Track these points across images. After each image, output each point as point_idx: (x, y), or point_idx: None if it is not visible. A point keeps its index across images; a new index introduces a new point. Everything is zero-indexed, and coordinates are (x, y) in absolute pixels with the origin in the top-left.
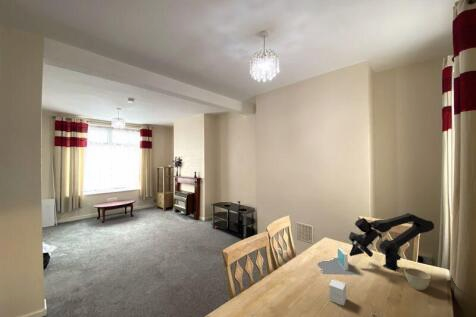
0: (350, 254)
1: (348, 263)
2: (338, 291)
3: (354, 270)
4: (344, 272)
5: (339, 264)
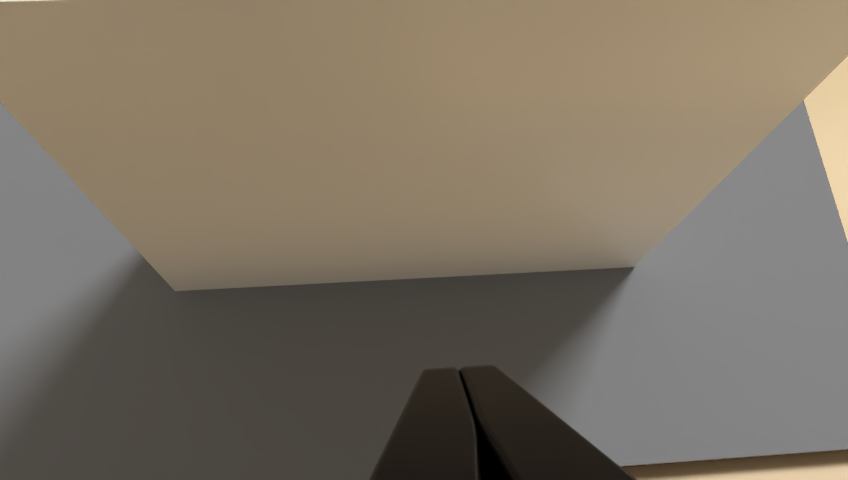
0: (414, 396)
1: None
2: None
3: (141, 459)
4: (52, 161)
5: None
